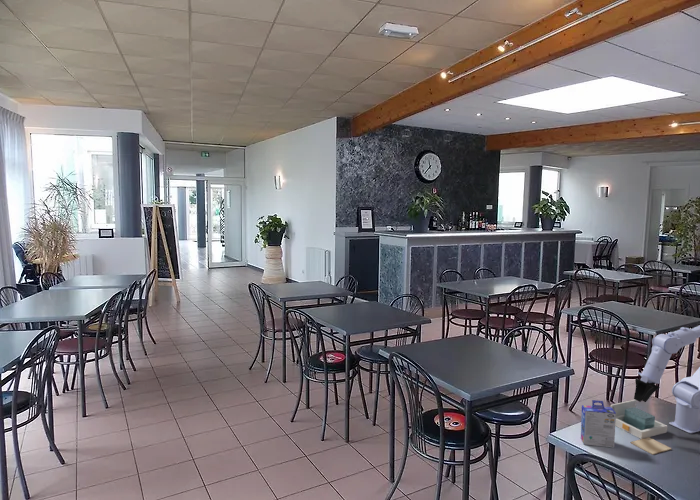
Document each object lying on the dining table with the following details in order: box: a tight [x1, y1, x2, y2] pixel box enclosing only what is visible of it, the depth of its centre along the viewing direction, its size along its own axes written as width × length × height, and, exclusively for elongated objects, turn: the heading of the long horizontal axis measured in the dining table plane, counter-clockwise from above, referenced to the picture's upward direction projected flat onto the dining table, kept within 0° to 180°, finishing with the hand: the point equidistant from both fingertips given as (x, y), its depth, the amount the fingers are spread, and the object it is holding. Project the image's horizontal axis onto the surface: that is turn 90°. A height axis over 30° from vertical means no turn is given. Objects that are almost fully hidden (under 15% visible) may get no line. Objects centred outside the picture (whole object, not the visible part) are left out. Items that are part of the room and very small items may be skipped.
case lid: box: [609, 399, 638, 416], centre depth 177 cm, size 13×2×7 cm, turn 111°
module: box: [624, 407, 656, 430], centre depth 172 cm, size 5×8×6 cm, turn 21°
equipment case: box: [615, 414, 668, 440], centre depth 172 cm, size 13×12×2 cm
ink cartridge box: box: [580, 399, 616, 448], centre depth 161 cm, size 10×6×14 cm, turn 78°
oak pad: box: [630, 437, 673, 455], centre depth 159 cm, size 9×8×1 cm
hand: (639, 400), depth 169 cm, fingers open, 7 cm apart
